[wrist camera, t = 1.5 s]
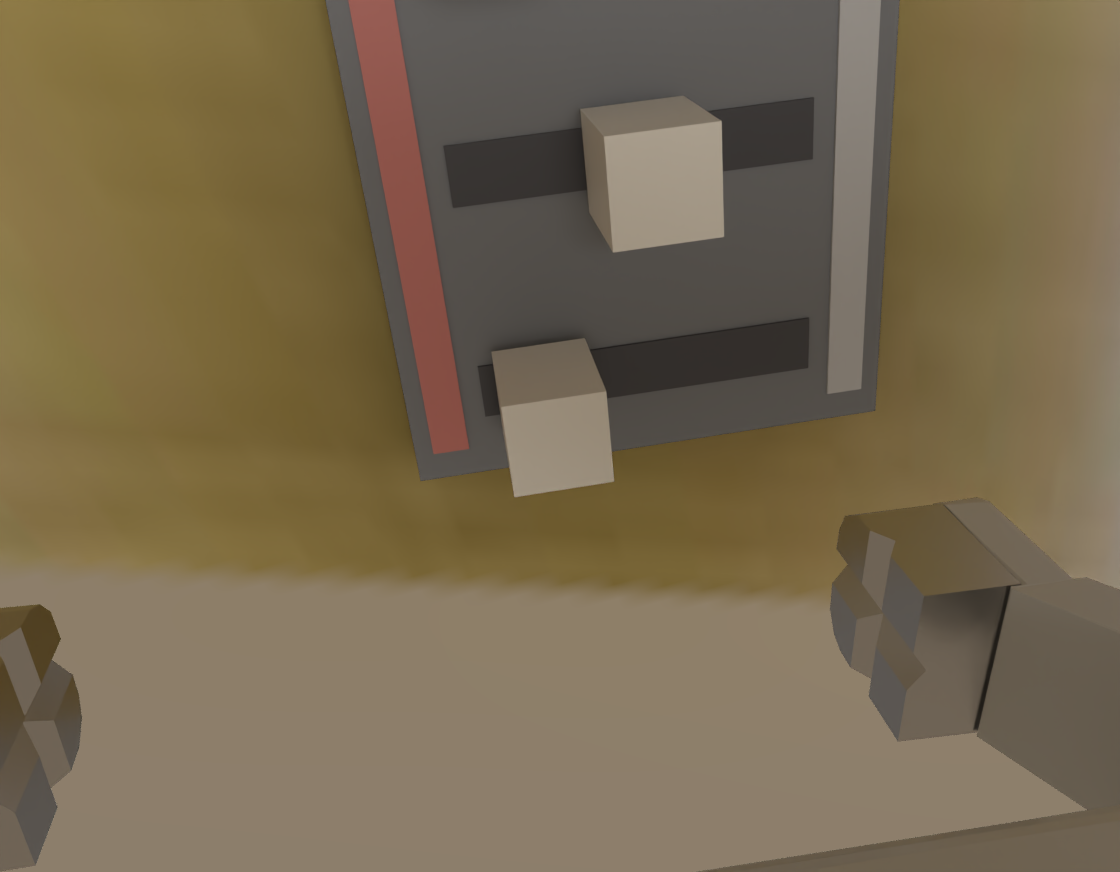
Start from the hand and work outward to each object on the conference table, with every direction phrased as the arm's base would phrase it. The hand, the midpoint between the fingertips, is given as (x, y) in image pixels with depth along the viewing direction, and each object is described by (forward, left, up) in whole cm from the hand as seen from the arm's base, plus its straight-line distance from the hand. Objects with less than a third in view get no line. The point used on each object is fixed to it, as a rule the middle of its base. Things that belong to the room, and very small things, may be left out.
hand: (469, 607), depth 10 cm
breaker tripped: (-6, 0, -20) cm, 21 cm away
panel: (-6, 0, -23) cm, 24 cm away
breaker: (-2, +7, -20) cm, 22 cm away
